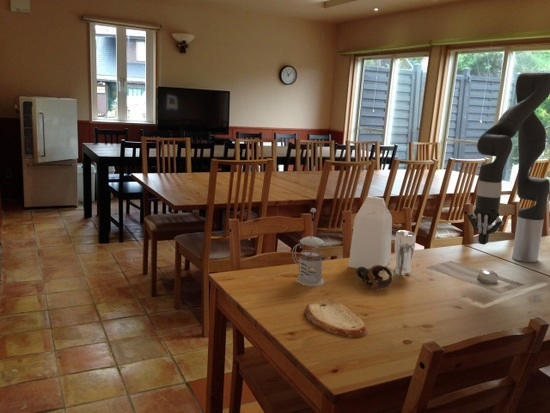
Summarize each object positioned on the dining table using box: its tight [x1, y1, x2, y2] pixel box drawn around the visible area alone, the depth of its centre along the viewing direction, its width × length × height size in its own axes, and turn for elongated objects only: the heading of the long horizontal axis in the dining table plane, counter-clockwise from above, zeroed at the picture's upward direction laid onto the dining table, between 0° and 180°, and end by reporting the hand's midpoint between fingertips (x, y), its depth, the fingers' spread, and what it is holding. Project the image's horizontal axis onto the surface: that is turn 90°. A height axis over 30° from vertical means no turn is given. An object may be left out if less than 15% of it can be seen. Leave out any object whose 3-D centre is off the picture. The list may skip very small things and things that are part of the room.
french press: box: [291, 207, 325, 287], centre depth 163 cm, size 10×12×25 cm
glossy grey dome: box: [477, 268, 499, 284], centre depth 168 cm, size 6×6×3 cm
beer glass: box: [393, 230, 417, 277], centre depth 174 cm, size 7×7×15 cm
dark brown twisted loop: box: [355, 265, 393, 292], centre depth 162 cm, size 12×10×8 cm
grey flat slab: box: [425, 260, 525, 294], centre depth 173 cm, size 15×29×1 cm, turn 36°
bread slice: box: [304, 298, 369, 338], centre depth 135 cm, size 18×18×4 cm
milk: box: [348, 195, 393, 275], centre depth 180 cm, size 12×12×26 cm
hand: (482, 243), depth 169 cm, fingers closed
